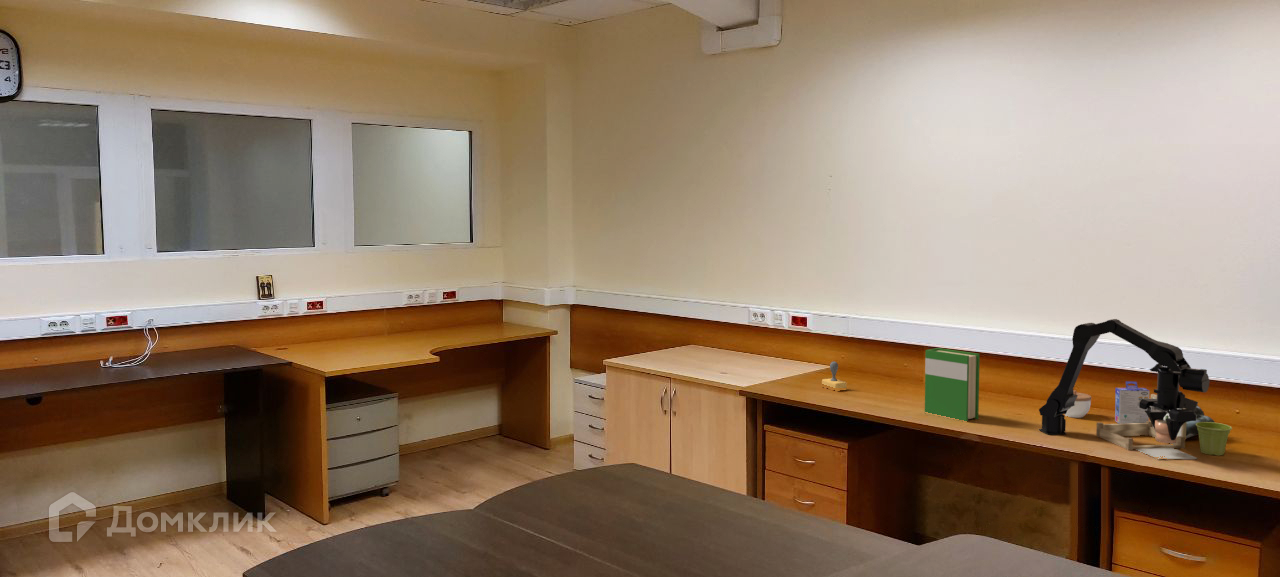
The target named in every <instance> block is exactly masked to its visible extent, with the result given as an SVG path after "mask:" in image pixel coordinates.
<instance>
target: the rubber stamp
mask: <svg viewBox="0 0 1280 577" xmlns="http://www.w3.org/2000/svg"><path fill="white" fill-rule="evenodd" d="M829 369H830V372H831V376H832V377H831V378H823V379H822V380H821V385H822V384H824V385H827V386H830V387H833V388H846V389H847V381H843V380H840V379H838V378H836V375H837V372H838V369H839V364H838V363H837V362H836V361H831V362H830V364H829Z"/></svg>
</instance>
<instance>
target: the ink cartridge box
mask: <svg viewBox="0 0 1280 577" xmlns="http://www.w3.org/2000/svg"><path fill="white" fill-rule="evenodd" d="M1130 384H1133V385H1130ZM1138 386H1139V385H1138V382H1137V381H1128V380H1127V381H1125V387H1115V391H1114V392H1115V394H1114V395H1115V398H1114V399H1115V403H1114V406H1115V407H1114V409H1115V410H1114V412H1115V414H1114V421H1115V422H1116V424H1127V423H1146V421H1150V419H1149V417H1148V415H1147V413H1146V412H1145V410H1147V409H1142V408H1139V403H1140V401H1141V400H1142V399H1150V392H1151V391H1150V390H1149V389H1147V388H1146V387H1138Z"/></svg>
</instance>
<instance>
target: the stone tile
mask: <svg viewBox="0 0 1280 577" xmlns="http://www.w3.org/2000/svg"><path fill="white" fill-rule="evenodd" d="M1136 450H1138V451H1140V452H1139V453H1141V452H1143V453H1145V454H1148V455H1150V456H1153V457H1159V458H1161V457H1162V456H1163V458H1167V459H1182V460H1197V459H1198V458H1197V457H1196V456H1193V455H1191V454H1188V453H1186V452H1183V451H1181V450H1180V449H1178V448H1177V449H1174V448H1152V449H1136ZM1136 450H1135V451H1136ZM1138 451H1137V452H1138ZM1143 453H1142V454H1143ZM1145 454H1144V455H1145ZM1148 455H1147V456H1148ZM1150 456H1149V457H1150ZM1160 456H1161V457H1160ZM1164 456H1165V457H1164ZM1159 458H1158V459H1159Z"/></svg>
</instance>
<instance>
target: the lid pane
mask: <svg viewBox="0 0 1280 577" xmlns="http://www.w3.org/2000/svg"><path fill="white" fill-rule="evenodd" d="M1150 399H1157V394H1156V393H1150ZM1184 409H1185V408H1184ZM1169 411H1170V410H1169ZM1166 415H1168V416H1169V413H1167V414H1166ZM1166 415H1165V416H1164V419H1163V420H1165V417H1166ZM1169 418H1170V417H1169ZM1149 421H1150V420H1149ZM1150 422H1151V421H1150ZM1186 423H1187V422H1185V423H1184V424H1183V425H1182V426H1181V428H1180V430H1179V432H1178V434H1177V436H1182V437H1185V440H1186V439H1187V438H1186ZM1152 427H1153V425H1152Z"/></svg>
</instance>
